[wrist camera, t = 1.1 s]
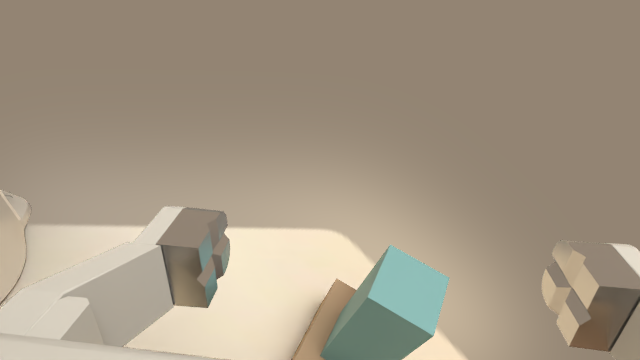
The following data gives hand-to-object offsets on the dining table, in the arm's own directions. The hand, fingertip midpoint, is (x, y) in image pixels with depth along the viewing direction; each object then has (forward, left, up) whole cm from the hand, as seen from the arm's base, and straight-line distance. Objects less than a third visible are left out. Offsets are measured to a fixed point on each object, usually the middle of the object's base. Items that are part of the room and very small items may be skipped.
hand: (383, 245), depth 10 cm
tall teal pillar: (+4, +9, -26) cm, 27 cm away
